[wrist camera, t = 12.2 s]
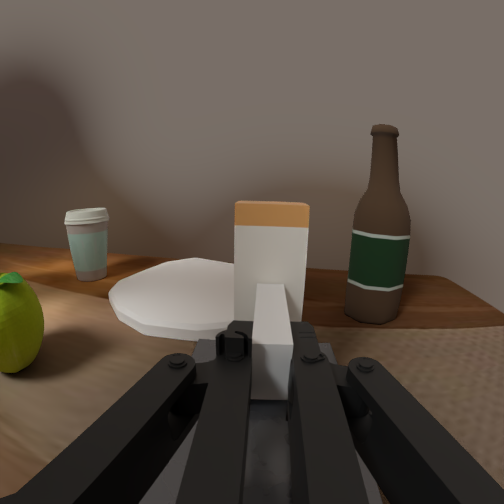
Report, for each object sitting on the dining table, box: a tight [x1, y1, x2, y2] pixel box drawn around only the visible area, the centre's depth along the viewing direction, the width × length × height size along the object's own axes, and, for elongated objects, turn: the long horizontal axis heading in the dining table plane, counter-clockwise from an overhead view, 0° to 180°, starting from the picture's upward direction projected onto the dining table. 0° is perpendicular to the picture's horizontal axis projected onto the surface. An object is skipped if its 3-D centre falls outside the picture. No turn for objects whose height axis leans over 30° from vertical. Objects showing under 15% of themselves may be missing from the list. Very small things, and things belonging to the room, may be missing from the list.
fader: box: [234, 201, 309, 322], centre depth 18 cm, size 4×4×12 cm
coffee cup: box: [65, 208, 109, 281], centre depth 46 cm, size 8×8×12 cm
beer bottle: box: [344, 124, 411, 325], centre depth 33 cm, size 8×8×24 cm
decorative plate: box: [108, 258, 234, 342], centre depth 40 cm, size 25×4×25 cm
